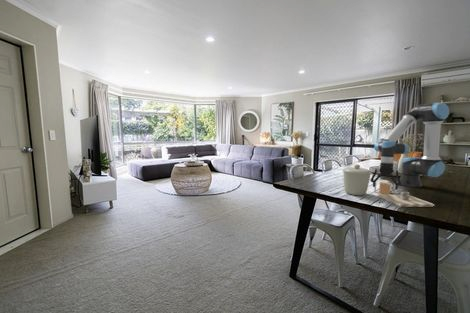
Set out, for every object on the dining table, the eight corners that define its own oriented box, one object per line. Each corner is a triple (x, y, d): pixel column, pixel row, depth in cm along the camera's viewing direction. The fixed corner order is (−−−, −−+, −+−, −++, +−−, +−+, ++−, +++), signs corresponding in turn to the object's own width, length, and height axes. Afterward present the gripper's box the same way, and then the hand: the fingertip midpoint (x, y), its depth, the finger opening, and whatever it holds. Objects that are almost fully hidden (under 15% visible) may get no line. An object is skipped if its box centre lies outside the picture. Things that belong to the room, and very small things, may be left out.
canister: (376, 197, 148) (378, 166, 146) (349, 197, 148) (351, 166, 145) (360, 190, 166) (362, 162, 164) (336, 190, 166) (338, 162, 163)
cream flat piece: (407, 196, 150) (408, 188, 149) (434, 206, 130) (435, 196, 129) (378, 196, 150) (379, 187, 149) (400, 206, 130) (400, 196, 129)
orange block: (379, 190, 164) (379, 181, 163) (388, 192, 161) (389, 182, 160) (379, 193, 157) (380, 183, 156) (389, 194, 154) (390, 184, 153)
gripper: (367, 161, 159) (365, 191, 161) (408, 164, 147) (405, 196, 150) (367, 160, 165) (365, 189, 168) (406, 163, 154) (403, 193, 156)
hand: (384, 192), depth 159 cm, fingers open, 11 cm apart
